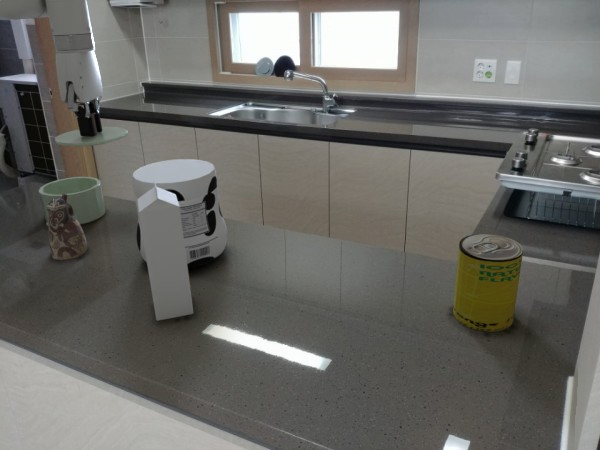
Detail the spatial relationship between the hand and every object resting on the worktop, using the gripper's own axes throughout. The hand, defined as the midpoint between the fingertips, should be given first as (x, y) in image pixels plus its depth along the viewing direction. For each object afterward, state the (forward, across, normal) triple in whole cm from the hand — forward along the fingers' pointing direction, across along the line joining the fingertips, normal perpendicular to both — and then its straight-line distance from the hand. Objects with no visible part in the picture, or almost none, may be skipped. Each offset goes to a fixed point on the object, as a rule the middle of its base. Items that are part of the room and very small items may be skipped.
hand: (91, 133), depth 115 cm
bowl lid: (+1, 0, 0) cm, 1 cm away
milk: (+22, +34, +27) cm, 49 cm away
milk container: (+22, +15, +23) cm, 35 cm away
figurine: (+22, +14, -2) cm, 26 cm away
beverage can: (+22, +34, +77) cm, 87 cm away
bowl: (+21, -6, -11) cm, 25 cm away
